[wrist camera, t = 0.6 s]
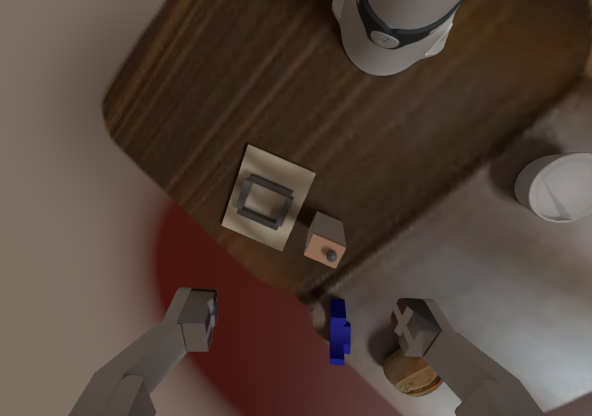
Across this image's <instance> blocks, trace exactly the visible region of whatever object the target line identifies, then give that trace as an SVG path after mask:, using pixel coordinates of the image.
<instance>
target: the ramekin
mask: <svg viewBox="0 0 592 416" xmlns="http://www.w3.org/2000/svg"><path fill="white" fill-rule="evenodd" d="M514 187H515V189H514V190H515V195H516V198H517V200H518V201H519V202H520V203H521V204H522V205H523V206H524V207H526V208H527V209H529V210H530V211H531V212H532V213H533V214H534V215H536V216H537V217H539V218H542V219H544V220H547V221H551V222H570V221H574V220H578V219H580V218H583V217H585V216H587V215H589V214H591V213H592V153H586V152H571V153H565V154H558V155H549V156H544V157H541V158H538V159H536V160H534V161H533V162H531V163H529V164H528V165H527V166H526V167H525V168H524V169H523V170H522V171H521V172H520V174H519V175H518V177H517V179H516V182H515V186H514Z"/></svg>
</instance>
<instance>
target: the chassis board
mask: <svg viewBox="0 0 592 416" xmlns="http://www.w3.org/2000/svg"><path fill="white" fill-rule="evenodd" d="M315 175H316V173H315V172H313V171H310V170H308V169H306V168H303V167H301V166H299V165H296V164H294V163H292V162H289V161H287V160H285V159H282V158H280V157H278V156H275V155H273V154H271V153H268V152H266V151H264V150H261V149H259V148H257V147H254V146H252V145H250V144H248V147H247V150H246V153H245V156H244V159H243V162H242V165H241V168H240V171H239V174H238V177H237V180H236V183H235V186H234V189H233V192H232V195H231V198H230V201H229V204H228V207H227V210H226V213H225V216H224V219H223V222H222V226H224V227H227V228H229V229H231V230H234V231H236V232H238V233H240V234H243V235H245V236H247V237H250V238H252V239H254V240H257V241H259V242H261V243H264V244H266V245H268V246H271V247H273V248H275V249H278V250H280V251H282V250H283V248H284V246H285V243H286V241H287V239H288V236H289V234H290V232H291V230H292V227H293V225H294V223H295V220H296V218H297V216H298V214H299V211H300V209H301V207H302V204H303V202H304V200H305V197H306V195H307V193H308V191H309V188H310V186H311V184H312V181H313V179H314V177H315Z"/></svg>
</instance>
